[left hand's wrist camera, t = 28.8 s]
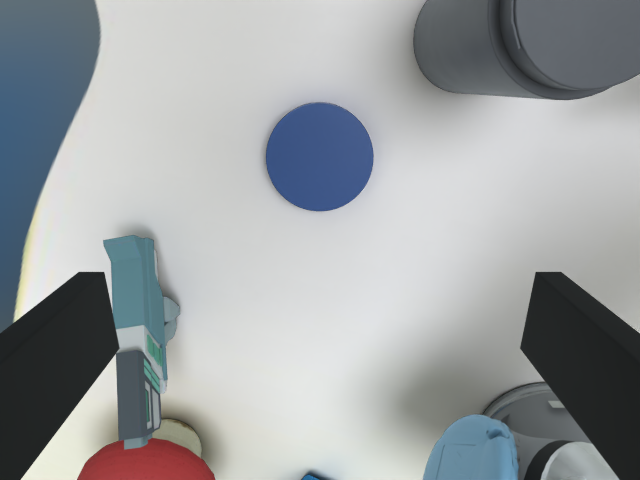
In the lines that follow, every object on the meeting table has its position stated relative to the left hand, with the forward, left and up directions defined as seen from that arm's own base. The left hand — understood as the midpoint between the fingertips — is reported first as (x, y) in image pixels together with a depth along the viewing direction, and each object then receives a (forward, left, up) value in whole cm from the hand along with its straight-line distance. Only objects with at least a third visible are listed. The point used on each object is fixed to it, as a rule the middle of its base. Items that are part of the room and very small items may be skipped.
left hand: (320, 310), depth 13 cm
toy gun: (-11, -21, -30) cm, 38 cm away
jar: (+8, +15, -30) cm, 34 cm away
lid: (0, 0, -28) cm, 28 cm away
